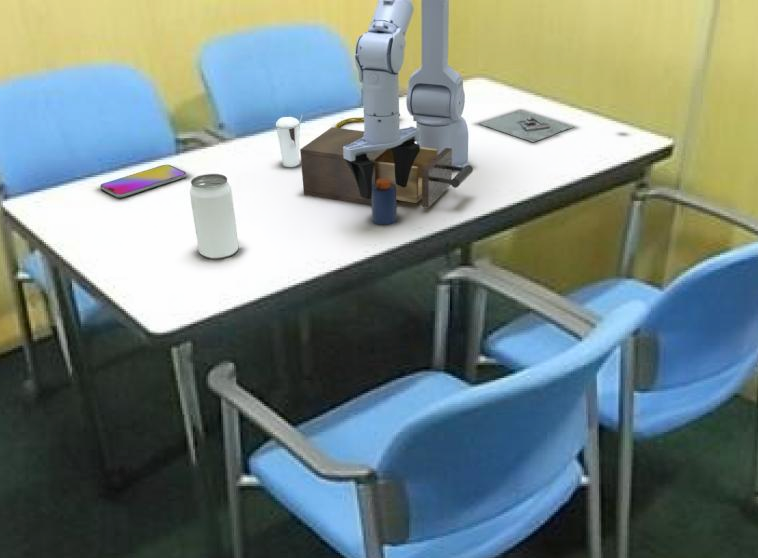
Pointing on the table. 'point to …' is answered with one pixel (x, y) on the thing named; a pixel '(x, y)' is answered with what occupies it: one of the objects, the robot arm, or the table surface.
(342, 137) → the cabinet
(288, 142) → the milkshake
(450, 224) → the table surface
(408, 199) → the drawer
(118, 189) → the smartphone
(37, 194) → the table surface
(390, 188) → the glue bottle
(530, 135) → the mousepad
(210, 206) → the can
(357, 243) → the table surface
